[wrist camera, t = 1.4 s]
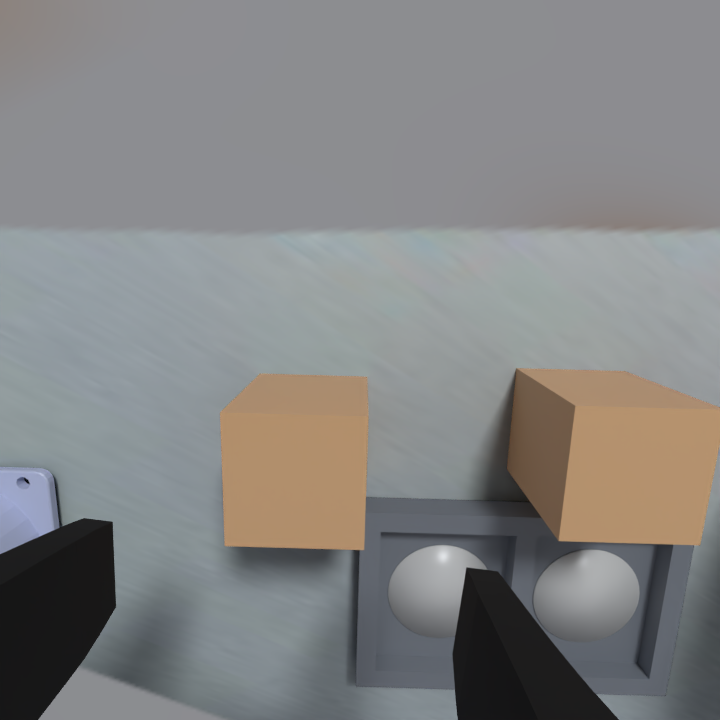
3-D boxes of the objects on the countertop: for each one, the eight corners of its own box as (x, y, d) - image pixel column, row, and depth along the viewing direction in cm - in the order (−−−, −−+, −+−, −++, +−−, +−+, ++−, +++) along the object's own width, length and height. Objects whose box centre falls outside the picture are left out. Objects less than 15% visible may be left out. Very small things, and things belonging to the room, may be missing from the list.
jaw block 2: (506, 468, 18) (558, 541, 13) (515, 368, 17) (575, 405, 12) (609, 471, 18) (700, 545, 13) (624, 371, 17) (725, 409, 12)
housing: (356, 661, 20) (355, 686, 19) (360, 497, 18) (360, 512, 17) (647, 671, 20) (665, 696, 19) (676, 506, 18) (698, 522, 17)
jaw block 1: (262, 473, 18) (224, 545, 13) (260, 373, 18) (220, 412, 13) (363, 476, 18) (363, 550, 13) (367, 376, 18) (368, 416, 13)
